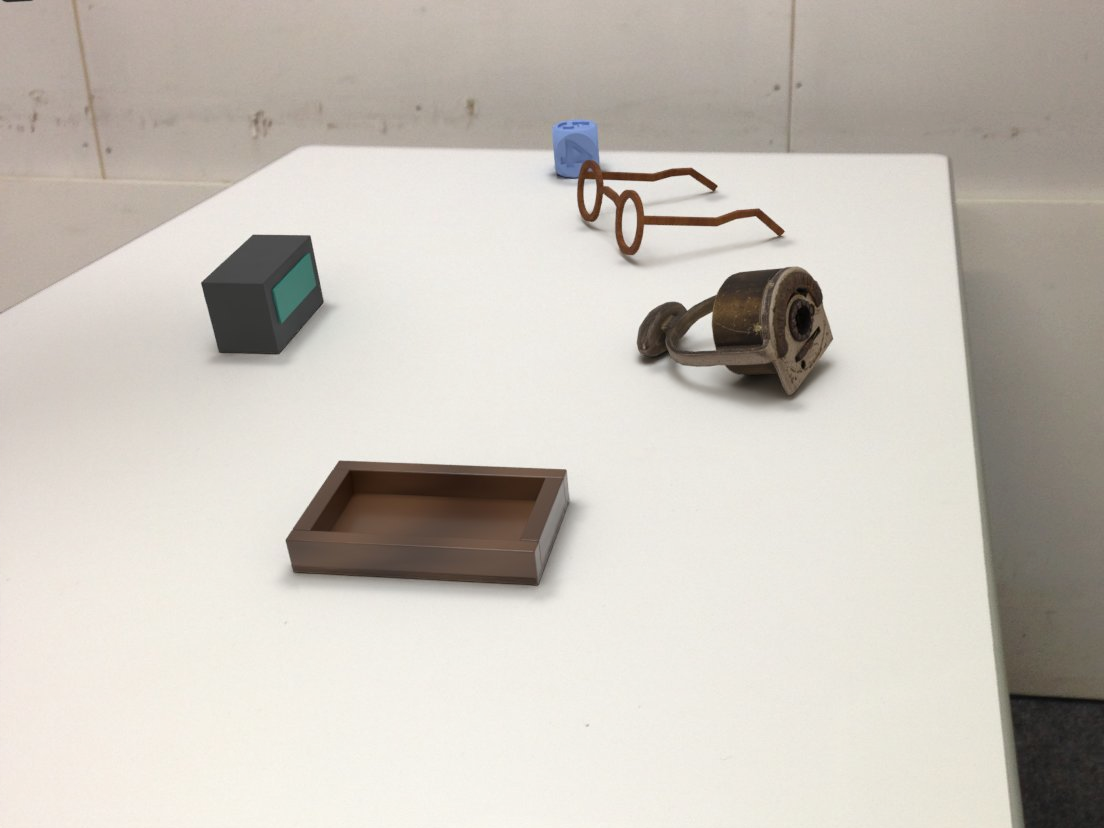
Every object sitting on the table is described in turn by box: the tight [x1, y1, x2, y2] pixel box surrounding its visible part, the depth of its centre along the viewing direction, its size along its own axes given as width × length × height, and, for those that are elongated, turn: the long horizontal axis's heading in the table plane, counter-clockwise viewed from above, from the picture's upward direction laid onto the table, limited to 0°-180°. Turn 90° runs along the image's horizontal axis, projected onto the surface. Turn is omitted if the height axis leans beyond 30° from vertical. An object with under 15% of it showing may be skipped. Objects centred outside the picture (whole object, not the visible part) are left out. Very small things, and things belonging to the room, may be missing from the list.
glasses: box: [576, 160, 786, 256], centre depth 103 cm, size 13×13×5 cm
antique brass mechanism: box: [636, 266, 834, 396], centre depth 81 cm, size 7×13×10 cm
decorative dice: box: [551, 118, 601, 179], centre depth 115 cm, size 4×4×4 cm
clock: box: [200, 234, 325, 355], centre depth 90 cm, size 9×5×5 cm, turn 171°
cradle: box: [285, 460, 570, 586], centre depth 68 cm, size 13×8×2 cm, turn 81°
